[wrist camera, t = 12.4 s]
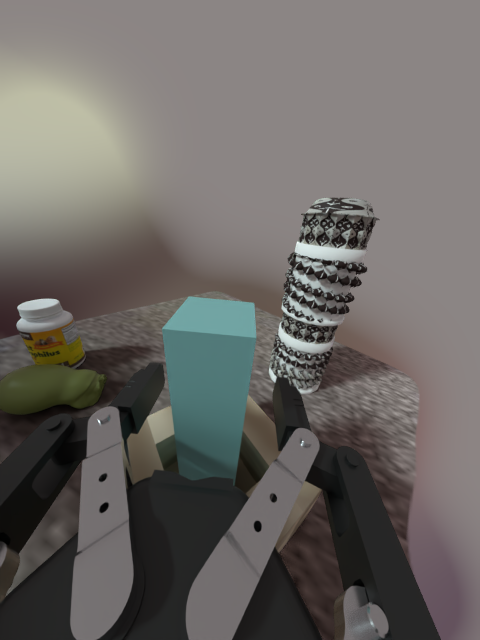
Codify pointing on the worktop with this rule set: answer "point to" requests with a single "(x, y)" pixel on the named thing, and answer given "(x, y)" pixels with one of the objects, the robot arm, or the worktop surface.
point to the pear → (49, 388)
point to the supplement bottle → (50, 333)
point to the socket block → (254, 459)
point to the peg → (209, 383)
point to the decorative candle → (320, 288)
